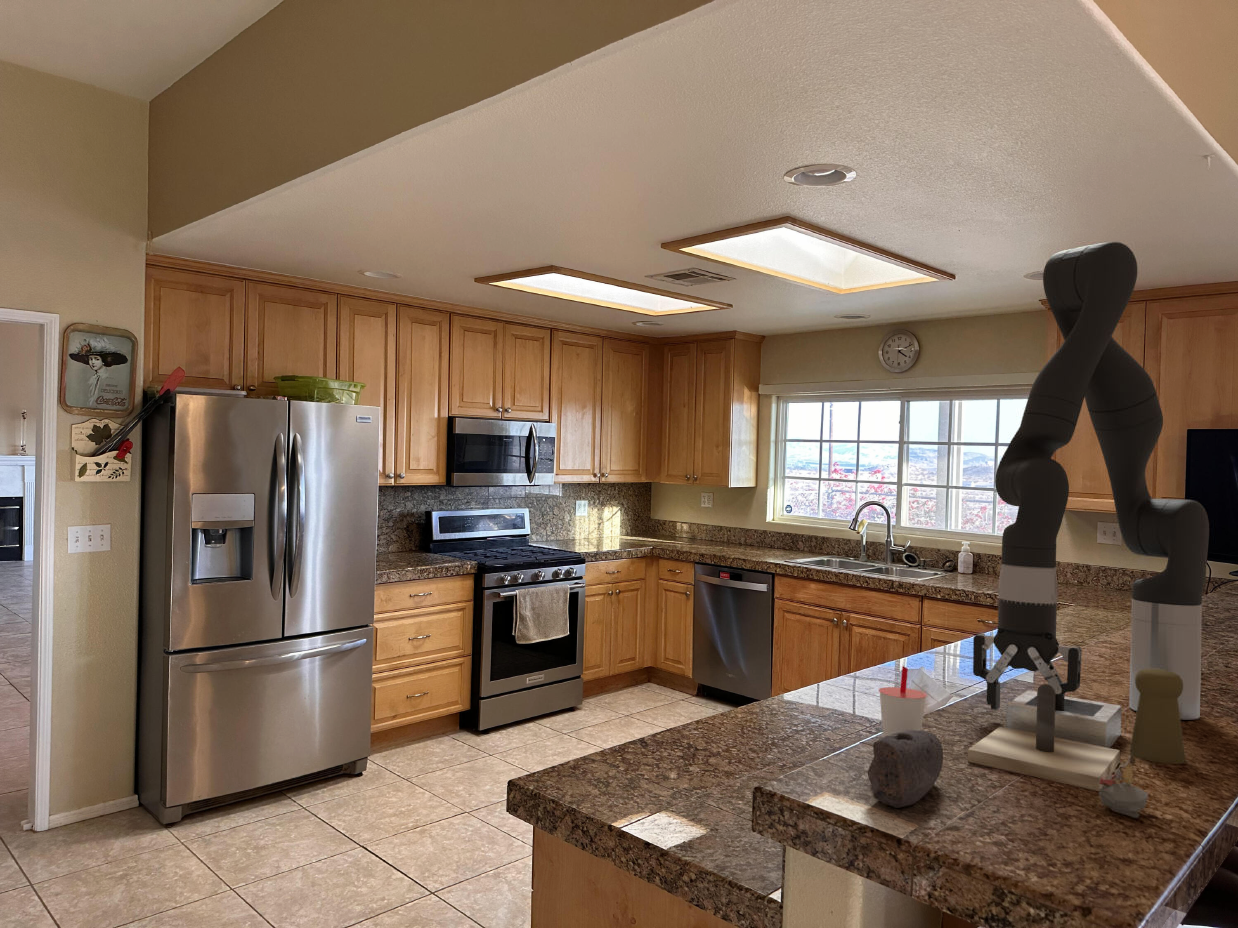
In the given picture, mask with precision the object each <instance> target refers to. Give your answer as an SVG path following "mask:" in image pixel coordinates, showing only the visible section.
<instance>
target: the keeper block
mask: <svg viewBox="0 0 1238 928" xmlns="http://www.w3.org/2000/svg"><path fill="white" fill-rule="evenodd" d="M1036 692H1037V722H1036V734H1034V733H1029V732H1024V731H1019V730H1014V729H1009V728H1006V727H1004V726H999V727H997V728H996V729H995V730H993V731H992V732H991V733H989V734H988V735H986V736H985V737H983V738H982V739H980V740H979V741H978V742H976V743H975V744H974V745H972V746H971V747H969V748H968V749H967V750H968V753H967V754H968V755H967V762H969V763H972V764H977V765H981V766H986V767H989V768H990V767H991V768H995V769H998V770H1004V771H1007V772H1012V773H1017V774H1021V775H1025V776H1030V777H1034V778H1039V779H1044V780H1048V781H1052V782H1056V783H1061V784H1064V785H1065V784H1066V785H1070V786H1074V787H1078V788H1082V789H1087V790H1092V791H1097V792H1100V789H1099V788H1100V787H1101V786H1102V785H1101V784H1099V782H1100V778H1108V777H1107V776H1106V772H1107V775H1108V776H1109V774H1111V773H1112V772H1113V771H1114V770H1115V771H1116V769H1117V767H1118V765H1120V764H1121V763H1120V758H1121V757H1120V755H1121V754H1120V752H1121V750H1119V749H1114V748H1111V747H1110V748H1106V747H1100V746H1095V745H1090V744H1085V743H1080V742H1075V741H1070V740H1065V739H1060V738H1055V737H1054V732H1055V690H1054V688H1053V687H1052V686H1051V685H1049V684H1048V683H1042V684H1040V685H1039V686H1038V688H1037V690H1036ZM1105 770H1107V771H1105ZM1102 771H1103V772H1102ZM1115 771H1114V772H1115ZM1108 772H1109V774H1108ZM1114 772H1113V773H1114ZM1113 773H1112V774H1113ZM1112 774H1111V775H1112ZM1109 777H1110V776H1109Z"/></svg>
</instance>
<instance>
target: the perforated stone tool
mask: <svg viewBox="0 0 1238 928" xmlns="http://www.w3.org/2000/svg"><path fill="white" fill-rule="evenodd" d="M872 747H873V750H872V751H873V758H872V760H871V763H870V765H869V767H868V770H867V779H868V780H869V782H870V785H871V789H872V792H873V793H872V795H873V797H874V798H875V799H876V800H878V801H880V802H881V803H882V804H883V805H887V806H889V807H893V808H895V809H898V808H904V807H908V806H912V805H915V804H916V803H917V802H918V801H919V800H921V799H922V798H923V797H924V796H925V795H927V793H929V791H930V790H931V789H932V787H933V785H935V783H936V782H937V780H938V778H939V776H940V774H941V772H942V768H943V764H944V763H943V762H944V752H943V751H944V749H943V745H942V743H941V741H940V739H939V738H938V737H937V736H936V735H935V734H933V733H931V732H928V731H924V730H921V731H920V730H913V731H906V732H900V733H894V734H892V735H890V736H885V737H883V736H882V737H881V738H880V739H878V740H876V741H874V742H873V743H872Z"/></svg>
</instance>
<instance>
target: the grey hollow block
mask: <svg viewBox="0 0 1238 928" xmlns="http://www.w3.org/2000/svg"><path fill="white" fill-rule="evenodd" d="M1005 706H1006V707H1005V708H1006V709H1005V728H1009V729H1014V730H1019V731H1024V732H1029V733H1034V734H1036V722H1037V690H1036V691H1035V690H1030V689H1028V690H1026V691H1025V692H1023V693H1022V694H1019V695H1018V696H1016V697H1015V698H1014V699H1012V700H1011V701H1009V702H1008V703H1006V705H1005ZM1121 729H1122V705H1121V704H1120V705H1119V704H1111V703H1106V702H1101V701H1097V700H1096V701H1095V700H1089V699H1083V698H1078V697H1071V696H1065V698H1064V711H1058V710H1055V732H1054V737H1055V738H1060V739H1065V740H1070V741H1075V742H1080V743H1085V744H1090V745H1095V746H1100V747H1106V748H1111V747H1112V746H1113V745H1114V744H1115V742H1116V741H1117V740H1118V739H1119V738H1120V736H1121V735H1122V734H1121V733H1122V730H1121ZM1117 738H1118V739H1117Z"/></svg>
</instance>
